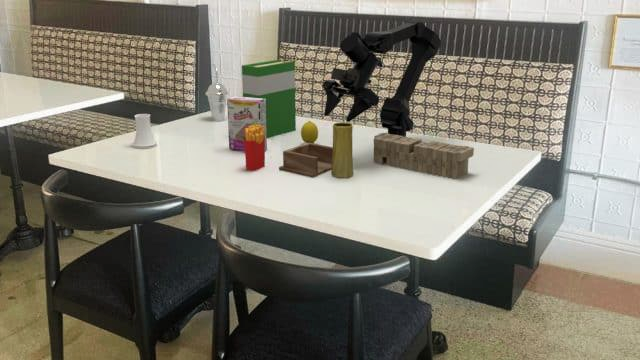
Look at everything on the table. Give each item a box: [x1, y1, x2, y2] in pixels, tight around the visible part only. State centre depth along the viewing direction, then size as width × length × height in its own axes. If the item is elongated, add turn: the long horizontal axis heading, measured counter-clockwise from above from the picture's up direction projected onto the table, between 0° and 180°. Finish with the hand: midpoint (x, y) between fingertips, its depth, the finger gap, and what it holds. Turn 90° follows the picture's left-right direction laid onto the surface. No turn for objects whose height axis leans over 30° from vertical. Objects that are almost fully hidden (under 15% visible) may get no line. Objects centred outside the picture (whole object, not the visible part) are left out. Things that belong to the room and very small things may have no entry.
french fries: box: [244, 125, 266, 172], centre depth 185 cm, size 8×4×12 cm, turn 153°
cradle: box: [278, 143, 333, 179], centre depth 185 cm, size 14×12×5 cm
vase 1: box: [132, 113, 158, 150], centre depth 207 cm, size 8×8×10 cm
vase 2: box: [330, 121, 354, 179], centre depth 178 cm, size 6×6×14 cm
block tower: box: [373, 132, 475, 180], centre depth 185 cm, size 8×8×29 cm
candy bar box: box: [226, 95, 268, 152], centre depth 201 cm, size 11×5×16 cm, turn 71°
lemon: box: [300, 120, 319, 144], centre depth 208 cm, size 6×6×8 cm
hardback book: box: [241, 59, 297, 139], centre depth 220 cm, size 18×7×24 cm, turn 140°
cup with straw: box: [205, 63, 229, 122], centre depth 240 cm, size 8×9×20 cm
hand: (336, 118), depth 184 cm, fingers open, 9 cm apart
